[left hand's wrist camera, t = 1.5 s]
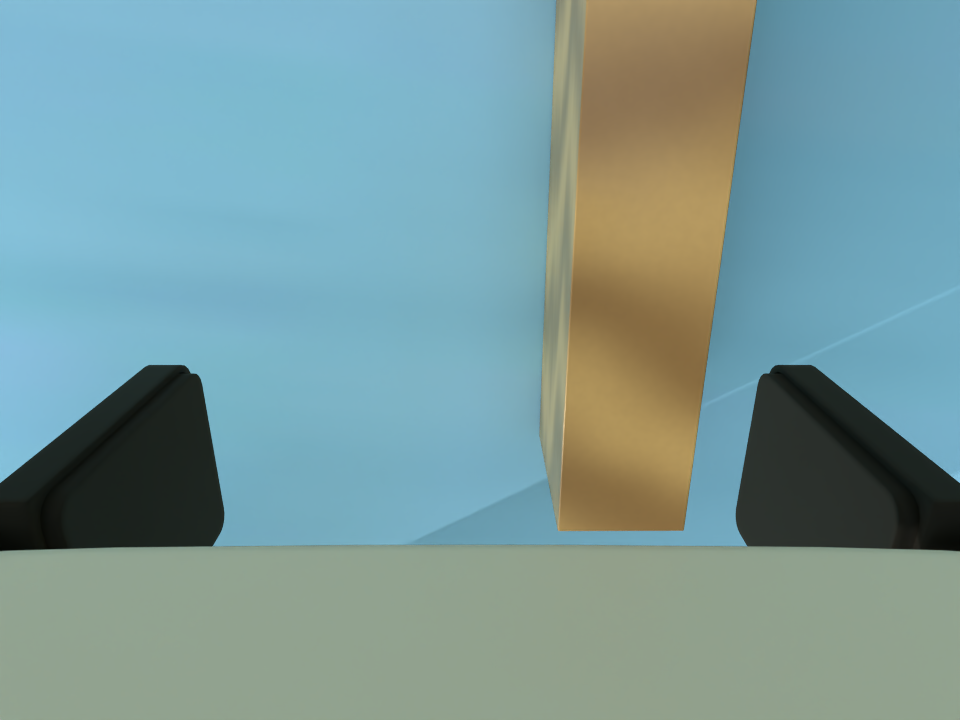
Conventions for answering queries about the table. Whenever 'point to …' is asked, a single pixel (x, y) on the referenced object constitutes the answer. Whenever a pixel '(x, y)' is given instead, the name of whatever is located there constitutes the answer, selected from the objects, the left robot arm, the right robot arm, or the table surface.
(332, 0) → the table surface
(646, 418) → the bar
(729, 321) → the table surface
